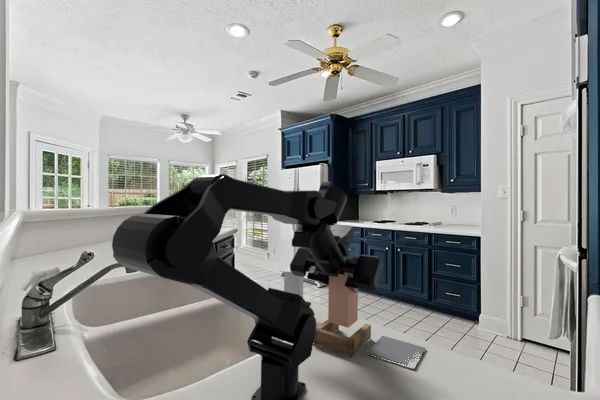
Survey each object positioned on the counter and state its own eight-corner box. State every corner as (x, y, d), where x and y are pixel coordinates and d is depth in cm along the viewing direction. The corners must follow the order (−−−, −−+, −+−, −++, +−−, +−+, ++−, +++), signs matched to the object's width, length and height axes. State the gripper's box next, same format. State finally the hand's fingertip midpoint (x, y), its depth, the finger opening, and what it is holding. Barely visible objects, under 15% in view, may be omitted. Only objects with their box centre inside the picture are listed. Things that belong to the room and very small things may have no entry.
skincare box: (299, 320, 73) (300, 272, 74) (283, 319, 74) (283, 271, 74) (303, 311, 79) (304, 267, 80) (287, 310, 80) (288, 266, 80)
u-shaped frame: (351, 357, 56) (352, 341, 56) (312, 343, 62) (312, 329, 62) (370, 338, 64) (370, 324, 64) (334, 328, 69) (334, 315, 69)
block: (348, 327, 60) (348, 268, 60) (328, 322, 63) (329, 265, 63) (357, 320, 64) (358, 264, 64) (338, 315, 66) (339, 261, 66)
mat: (414, 370, 52) (414, 367, 52) (366, 354, 57) (366, 352, 57) (425, 349, 60) (425, 347, 60) (382, 337, 65) (382, 335, 65)
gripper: (380, 214, 55) (397, 263, 64) (298, 210, 65) (323, 253, 74) (362, 263, 48) (384, 311, 57) (274, 251, 59) (305, 292, 68)
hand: (346, 288), depth 64 cm, fingers closed on block, 5 cm apart
